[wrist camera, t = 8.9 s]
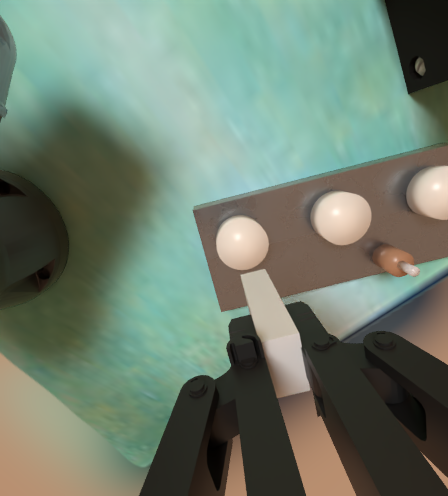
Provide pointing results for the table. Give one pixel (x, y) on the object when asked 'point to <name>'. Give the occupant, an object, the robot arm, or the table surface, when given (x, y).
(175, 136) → the table surface
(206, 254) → the plate
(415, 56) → the electrical component
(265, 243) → the knob
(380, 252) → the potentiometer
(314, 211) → the knob mid
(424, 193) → the knob outer
